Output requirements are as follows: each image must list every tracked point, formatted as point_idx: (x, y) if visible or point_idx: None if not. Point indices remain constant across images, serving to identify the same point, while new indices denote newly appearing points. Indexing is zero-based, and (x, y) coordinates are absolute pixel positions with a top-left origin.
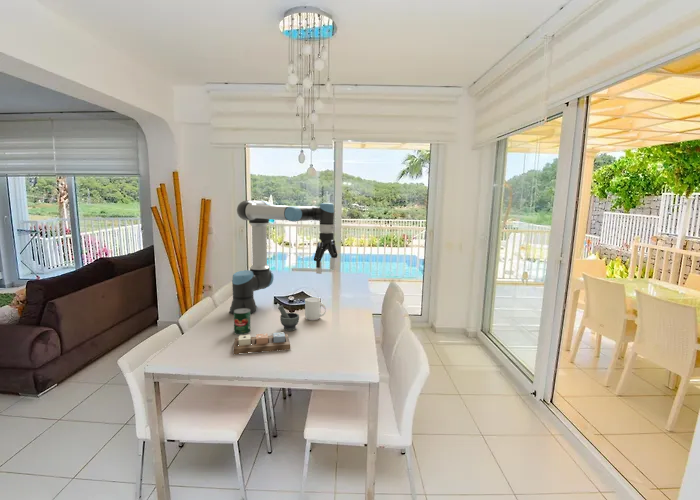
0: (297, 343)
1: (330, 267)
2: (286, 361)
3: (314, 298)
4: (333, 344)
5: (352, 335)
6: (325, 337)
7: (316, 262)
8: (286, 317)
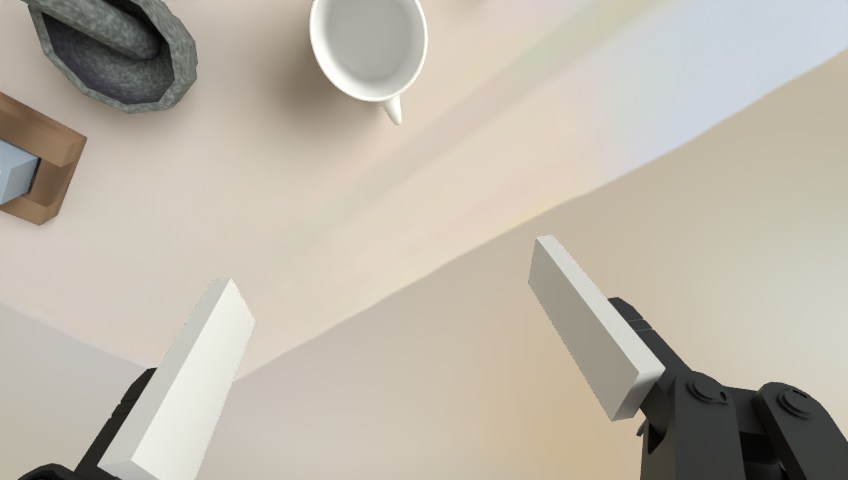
0: (113, 197)
1: (545, 256)
2: (7, 262)
3: (417, 12)
4: (232, 279)
5: (333, 278)
6: (247, 233)
7: (81, 465)
8: (89, 35)
